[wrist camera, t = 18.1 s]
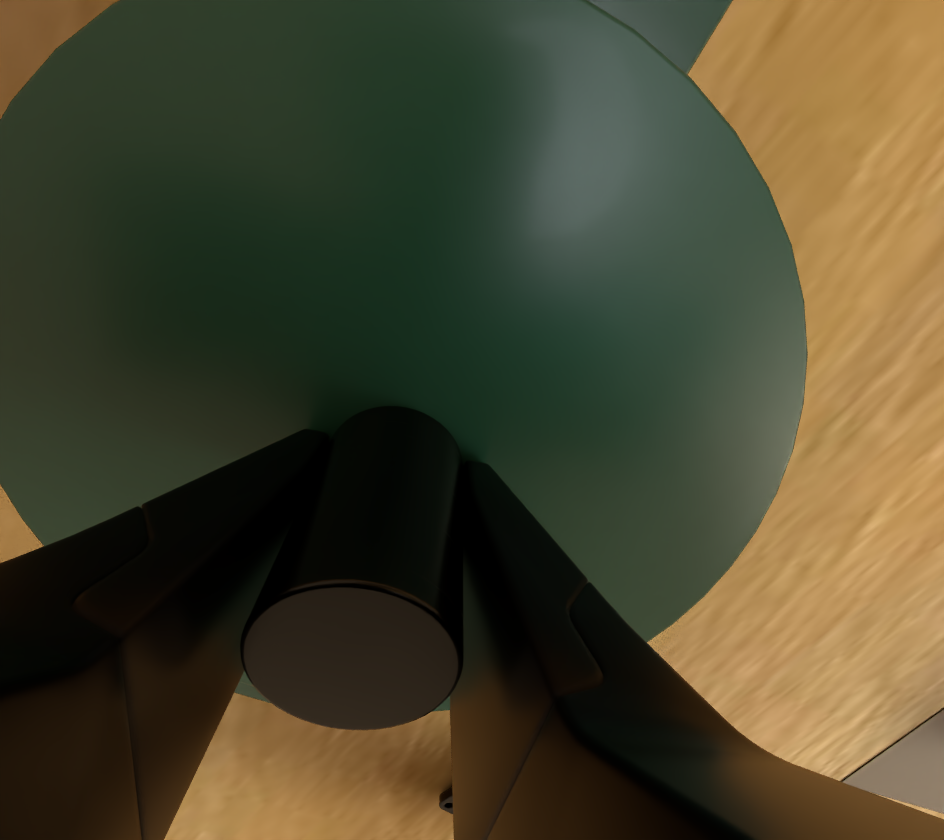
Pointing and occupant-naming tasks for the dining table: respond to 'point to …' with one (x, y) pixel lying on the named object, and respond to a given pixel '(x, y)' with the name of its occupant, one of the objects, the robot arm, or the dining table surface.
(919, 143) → the dining table surface
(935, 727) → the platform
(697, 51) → the pot
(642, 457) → the lid
